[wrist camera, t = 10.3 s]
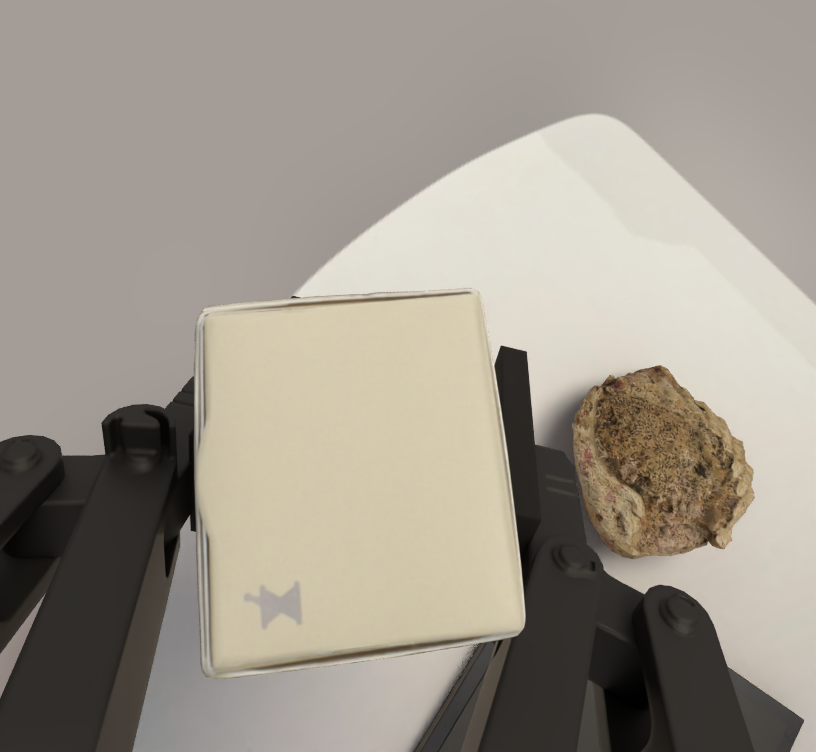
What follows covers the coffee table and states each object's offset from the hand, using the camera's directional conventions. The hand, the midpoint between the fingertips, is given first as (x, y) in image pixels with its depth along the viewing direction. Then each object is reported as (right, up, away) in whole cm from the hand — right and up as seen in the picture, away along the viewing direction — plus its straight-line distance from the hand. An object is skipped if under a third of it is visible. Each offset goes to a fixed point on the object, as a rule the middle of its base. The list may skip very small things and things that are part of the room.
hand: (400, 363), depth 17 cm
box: (-1, -4, +3) cm, 6 cm away
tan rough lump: (+15, -6, +19) cm, 24 cm away
